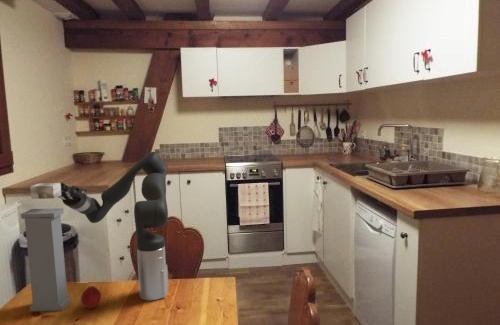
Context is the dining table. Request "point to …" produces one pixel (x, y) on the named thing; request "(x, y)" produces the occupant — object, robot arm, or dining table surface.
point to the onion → (91, 297)
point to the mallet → (45, 190)
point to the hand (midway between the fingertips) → (56, 185)
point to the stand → (46, 259)
